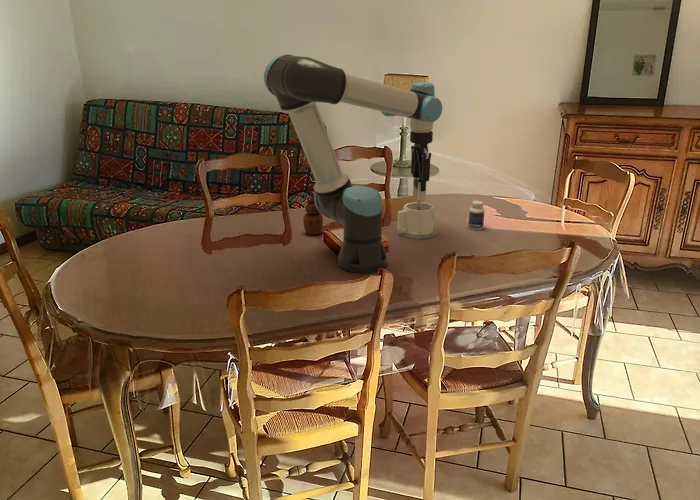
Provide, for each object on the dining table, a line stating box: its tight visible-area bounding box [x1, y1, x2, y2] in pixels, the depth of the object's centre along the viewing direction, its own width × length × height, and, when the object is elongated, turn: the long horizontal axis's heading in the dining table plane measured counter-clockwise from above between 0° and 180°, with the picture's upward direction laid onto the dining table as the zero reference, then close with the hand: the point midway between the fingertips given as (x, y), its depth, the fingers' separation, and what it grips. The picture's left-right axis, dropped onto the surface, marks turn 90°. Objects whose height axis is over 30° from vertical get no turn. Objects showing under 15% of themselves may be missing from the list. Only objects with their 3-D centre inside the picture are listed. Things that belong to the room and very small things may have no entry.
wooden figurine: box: [303, 193, 324, 236], centre depth 207 cm, size 7×6×15 cm
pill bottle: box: [467, 200, 485, 231], centre depth 212 cm, size 5×5×10 cm
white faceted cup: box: [397, 201, 439, 240], centre depth 208 cm, size 15×14×10 cm
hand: (419, 197), depth 206 cm, fingers closed on plunger, 4 cm apart
